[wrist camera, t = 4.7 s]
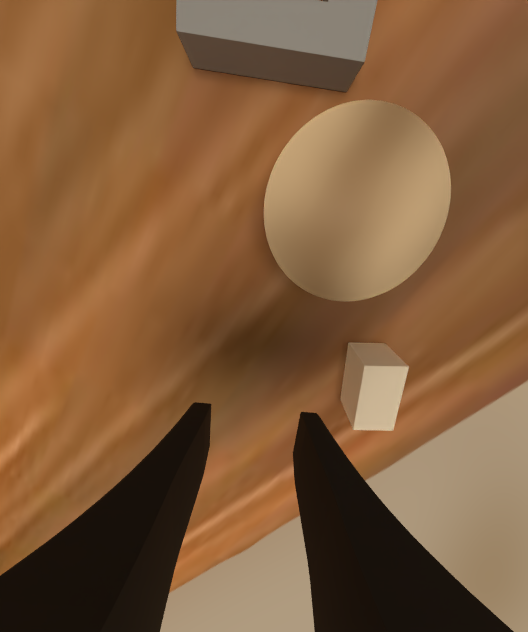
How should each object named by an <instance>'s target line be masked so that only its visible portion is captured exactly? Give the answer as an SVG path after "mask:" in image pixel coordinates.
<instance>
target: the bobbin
mask: <svg viewBox="0 0 528 632" xmlns="http://www.w3.org/2000/svg"><path fill="white" fill-rule="evenodd" d="M450 197H451V180H450V171H449V166H448V162H447V158H446V156H445V153H444V150H443V147H442V146H441V144H440V142H439V140H438V138H437V137H436V135H435V134H434V132H433V131H432V130H431V129H430V127H429V126H428V125H427V124H426V123H425V122H424V121H423V120H422V119H421V118H420V117H418V116H417V115H415V114H414V113H412V112H411V111H409V110H408V109H406V108H403V107H401V106H399V105H397V104H394V103H389V102H385V101H380V100H359V101H352V102H348V103H344V104H340V105H338V106H335V107H333V108H330V109H328V110H326V111H324V112H323V113H321V114H319V115H317V116H316V117H314V118H313V119H312V120H310V121H309V122H308V123H307V124H305V125H304V126H303V127H302V128H301V129H300V130H299V131H298V132H297V133H296V134H295V135H294V136H293V137H292V138H291V140H290V141H289V142H288V144H287V145H286V146H285V147H284V149H283V151H282V152H281V154H280V156H279V157H278V159H277V161H276V163H275V165H274V168H273V170H272V172H271V175H270V178H269V181H268V185H267V189H266V194H265V200H264V226H265V231H266V237H267V240H268V244H269V247H270V250H271V252H272V254H273V256H274V258H275V260H276V262H277V263H278V265H279V266H280V268H281V269H282V271H283V272H284V273H285V274H286V275H287V277H288V278H289V279H291V280H292V281H293V282H294V283H295V284H296V285H297V286H299V287H300V288H302V289H303V290H305V291H307V292H309V293H311V294H313V295H315V296H318V297H321V298H324V299H328V300H333V301H358V300H363V299H368V298H371V297H375V296H378V295H380V294H382V293H385V292H387V291H389V290H391V289H392V288H394V287H396V286H398V285H399V284H401V283H402V282H403V281H405V280H406V279H407V278H409V277H410V276H411V275H412V274H413V273H414V272H415V271H416V270H417V269H418V268H419V267H420V266H421V265H422V264H423V262H424V261H425V260H426V259H427V257H428V256H429V254H430V253H431V252H432V250H433V249H434V247H435V245H436V243H437V241H438V239H439V238H440V235H441V233H442V230H443V228H444V225H445V222H446V219H447V215H448V211H449V205H450Z"/></svg>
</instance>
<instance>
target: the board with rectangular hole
mask: <svg viewBox="0 0 528 632" xmlns="http://www.w3.org/2000/svg"><path fill="white" fill-rule="evenodd" d="M376 4H377V0H323V1H319V0H177V8H176V31H177V34H178V36H179V38H180V40H181V42H182V44H183V47H184V49H185V51H186V53H187V55H188V57H189V60H190V62H191V64H192V66H193V68H198V69H204V70H210V71H217V72H223V73H229V74H235V75H242V76H248V77H254V78H261V79H267V80H273V81H279V82H286V83H292V84H298V85H305V86H311V87H317V88H323V89H330V90H336V91H342V92H347V90H348V89H349V87H350V85H351V84H352V82H353V80H354V79H355V77H356V75H357V74H358V72H359V70H360V69H361V67H362V65H363V64H364V62H365V57H366V53H367V48H368V43H369V38H370V33H371V28H372V24H373V19H374V14H375V9H376Z"/></svg>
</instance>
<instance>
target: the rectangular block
mask: <svg viewBox="0 0 528 632" xmlns="http://www.w3.org/2000/svg"><path fill="white" fill-rule="evenodd" d="M408 368H409V366H408V365H407V364H406V363H405V362H404V361H403V360H402V359H401V358H400V357H399V356H398V355H397V354H396V353H395V352H394V351H393V350H392V349H391V348H390V347H389V346H388V345H387V344H386V343H349V342H348V349H347V356H346V362H345V369H344V376H343V383H342V390H341V397H340V400H341V402H342V404H343V407H344V409H345V412H346V414H347V416H348V419H349V421H350V423H351V426H352V428H353V430H387V431H393V429H394V425H395V421H396V417H397V413H398V409H399V405H400V401H401V397H402V393H403V389H404V385H405V381H406V377H407V372H408Z"/></svg>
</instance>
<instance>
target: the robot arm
mask: <svg viewBox="0 0 528 632" xmlns="http://www.w3.org/2000/svg"><path fill="white" fill-rule="evenodd" d="M210 422H211V404H207V403H193V404H192V405H191V406H190V408H189V409H188V410H187V412H186V413H185V414H184V415H183V416H182V418H181V419H180V420H179V421H178V422H177V424H176V425H175V426H174V427H173V428H172V429H171V431H170V432H169V433H168V434H167V435H166V436H165V437H164V438H163V439H162V440H161V441H160V443H159V444H158V445H157V446H156V447H155V448H154V449H153V450H152V451H151V452H150V453H149V454H148V455H147V456H146V457H145V458H144V459H143V460H142V461H141V462H140V463H139V464H138V465H137V466H136V467H135V468H134V469H133V470H132V471H131V472H130V473H129V474H128V475H127V476H126V477H124V478H123V479H122V480H121V481H120V482H119V483H118V484H117V485H116V486H115V487H113V488H112V489H111V490H110V491H109V492H108V493H107V494H105V495H104V496H103V497H102V498H101V499H100V500H99V501H97V502H96V503H95V504H94V505H93V506H91V507H90V508H89V509H88V510H86V511H85V512H84V513H83V514H82V515H80V516H79V517H78V518H77V519H75V520H74V521H73V522H72V523H70V524H69V525H68V526H67V527H65V528H64V529H63V530H62V531H60V532H59V533H58V534H57V535H55V536H54V537H53V538H51V539H50V540H49V541H47V542H46V543H45V544H43V545H42V546H41V547H39V548H38V549H36V550H35V551H34V552H32V553H31V554H30V555H28V556H27V557H25V558H24V559H23V560H21V561H20V562H19V563H17V564H16V565H14V566H13V567H12V568H10V569H9V570H8V571H6V572H5V573H3V574H2V575H1V576H0V632H160V628H161V624H162V619H163V615H164V611H165V607H166V602H167V598H168V594H169V590H170V586H171V582H172V578H173V573H174V569H175V566H176V562H177V559H178V555H179V551H180V548H181V545H182V542H183V539H184V535H185V532H186V529H187V526H188V523H189V520H190V516H191V513H192V510H193V507H194V504H195V500H196V497H197V494H198V491H199V488H200V484H201V481H202V478H203V474H204V470H205V465H206V461H207V456H208V451H209V446H210ZM293 461H294V477H295V487H296V493H297V499H298V505H299V511H300V517H301V523H302V529H303V535H304V542H305V548H306V554H307V559H308V567H309V575H310V582H311V583H310V584H311V595H312V605H313V616H314V627H315V632H513V631H512V630H511V629H510V628H509V627H508V626H507V625H506V624H504V623H503V622H502V621H501V620H500V619H499V618H498V617H497V616H496V615H494V614H493V613H492V612H491V611H490V610H489V609H488V608H487V607H486V606H485V605H483V604H482V603H481V602H480V601H479V600H478V599H477V598H476V597H474V596H473V595H472V594H471V593H470V592H469V591H468V590H467V589H466V588H465V587H464V586H463V585H462V584H461V583H460V582H459V581H458V580H456V579H455V578H454V577H453V576H452V575H451V574H450V573H449V572H448V571H447V570H446V569H445V568H444V567H443V566H442V565H441V564H440V563H439V562H438V561H437V560H436V559H435V558H434V557H433V556H432V555H431V554H430V553H429V552H428V551H427V550H426V549H425V548H424V547H423V546H422V545H421V544H420V543H419V542H418V541H417V540H416V539H415V538H414V537H413V536H412V535H411V534H410V533H409V532H408V530H407V529H406V528H405V527H404V526H403V525H402V524H401V523H400V522H399V521H398V520H397V519H396V517H395V516H394V515H393V514H392V513H391V512H390V511H389V510H388V508H387V507H386V506H385V505H384V504H383V503H382V501H381V500H380V499H379V498H378V497H377V495H376V494H375V493H374V492H373V490H372V489H371V488H370V487H369V485H368V484H367V483H366V482H365V480H364V479H363V478H362V477H361V475H360V474H359V473H358V471H357V470H356V469H355V467H354V466H353V465H352V463H351V462H350V461H349V459H348V458H347V456H346V455H345V454H344V452H343V451H342V450H341V448H340V447H339V445H338V444H337V442H336V441H335V439H334V438H333V436H332V435H331V433H330V432H329V430H328V429H327V427H326V426H325V424H324V423H323V421H322V420H321V418H320V417H319V415H318V414H317V413H308V412H301V414H300V419H299V424H298V430H297V435H296V440H295V445H294V451H293Z"/></svg>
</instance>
